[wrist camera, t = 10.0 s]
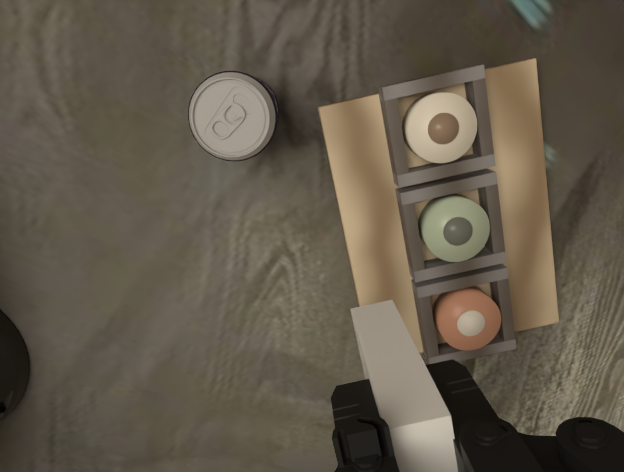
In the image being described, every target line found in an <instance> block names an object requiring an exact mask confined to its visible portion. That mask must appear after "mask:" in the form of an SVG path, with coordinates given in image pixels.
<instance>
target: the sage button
mask: <svg viewBox="0 0 624 472" xmlns="http://www.w3.org/2000/svg"><path fill="white" fill-rule="evenodd" d="M418 229H419V235H420V238H421V240H422V241H423V243H424V244H425V245H426V246H427V247H428V248H429V249H430V251H431V252H432V253H433V254H434V255H435V256H437V257H438V258H440V259H442V260H445V261H448V262H461V261H465V260H468V259H470V258H472V257H473V256H475V255H476V254H477V253H479V252H480V251H481V249H482V248H483V247H484V245H485V244H486V242H487V240H488V237H489V232H490V223H489V219H488V216H487V214H486V212H485V211H484V209H483V208H482V207H481V206H479V205H478V204H477V203H475V202H473V201H472V200H470V199H468V198H466V197H465V196H462V195H460V194H455V193H454V194H450V195H445V196H441V197H437V198H434V199H432V200H431V201H430V202H428V203H427V204H426V206H425V207H424V208H423V210H422V212H421V214H420V216H419V220H418Z"/></svg>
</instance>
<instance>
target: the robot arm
mask: <svg viewBox="0 0 624 472" xmlns="http://www.w3.org/2000/svg"><path fill="white" fill-rule="evenodd" d="M350 310H351V315H352V319H353V324H354V329H355V333H356V338H357V343H358V347H359V352H360V357H361V361H362V366H363V371H364V375H365V379H366V380H361V381H357V382H352V383H348V384H343V385H338V386H336V388H335V390H334V392H333V394H332V396H331V402H332V408H333V415H334V422H335V429H334V431H333V435H332V441H333V445H334V449H335V453H336V457H337V461H338V467H337V469H336V470H335V472H624V432H622V431H621V430H619V429H618V428H616V427H615V426H613V425H611V424H609V423H607V422H605V421H603V420H599V419H595V418H591V417H577V418H573V419H569V420H566V421H564V422H563V423H561V424H560V425H559V426H558V429H557V431H556V436H534V435H526V434H522V433H518V432H517V430H516V429H515V428H514V427H513V426H512V425H511V424H510V423H509V422H506V421H504V420H502V419H500V418H498V416H497V415H496V413H495V412H494V410H493V409H492V407H491V405H490V404H489V402H488V401H487V399H486V398H485V396H484V395H483V393H482V392H481V390H480V388H478V385H477V384H476V382H475V381H474V379H473V378H472V376H471V375H470V373H469V371H468V370H467V368H466V367H465V366H463V365H462V364H460V363H458V362H457V361H455V360H453V359H451V360H447V361H442V362H438V363H433V364H428V365H425V363H424V361H423V359H422V357H421V355H420V353H419V351H418V349H417V347H416V346H415V344H414V342H413V340H412V338H411V336H410V334H409V332H408V330H407V328H406V326H405V324H404V322H403V320H402V318H401V316H400V314H399V312H398V310H397V308H396V306H395V304H394V302H393V300H388V301H383V302H379V303H374V304H370V305H365V306H361V307H356V308H352V309H350ZM28 376H29V360H28V355H27V351H26V347H25V345H24V342H23V340H22V338H21V336H20V334H19V333H18V331H17V329H16V328H15V327H14V325H13V324H12V323H11V321H10V320H9V319H8V318H7V317H6V316H5V315H4V314H3V313H2V312H1V311H0V422H1V421H2V420H3V419H4V418H5V417H6V416H7V414H8V413H9V412H10V411H11V410H12V409H13V407H14V406H15V405H16V404H17V403H18V401H19V400H20V398H21V397H22V395H23V393H24V391H25V388H26V385H27V382H28Z"/></svg>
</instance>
